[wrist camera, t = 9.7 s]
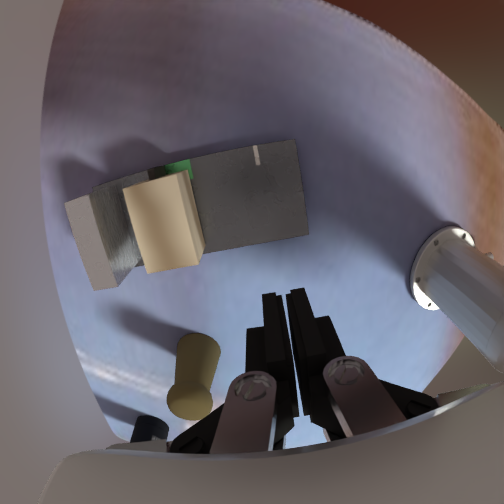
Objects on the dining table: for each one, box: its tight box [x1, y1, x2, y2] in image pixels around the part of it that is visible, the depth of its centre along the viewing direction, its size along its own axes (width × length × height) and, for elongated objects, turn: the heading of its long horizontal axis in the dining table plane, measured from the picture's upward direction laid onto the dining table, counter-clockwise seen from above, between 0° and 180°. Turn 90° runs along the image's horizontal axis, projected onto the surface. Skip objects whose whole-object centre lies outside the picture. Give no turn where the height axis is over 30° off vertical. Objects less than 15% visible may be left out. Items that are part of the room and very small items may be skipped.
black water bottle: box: [130, 415, 169, 443], centre depth 29 cm, size 6×6×30 cm
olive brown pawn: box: [167, 333, 221, 421], centre depth 31 cm, size 6×6×11 cm
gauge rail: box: [64, 139, 309, 291], centre depth 26 cm, size 22×10×8 cm, turn 100°
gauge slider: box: [123, 165, 205, 273], centre depth 25 cm, size 5×9×5 cm, turn 11°
